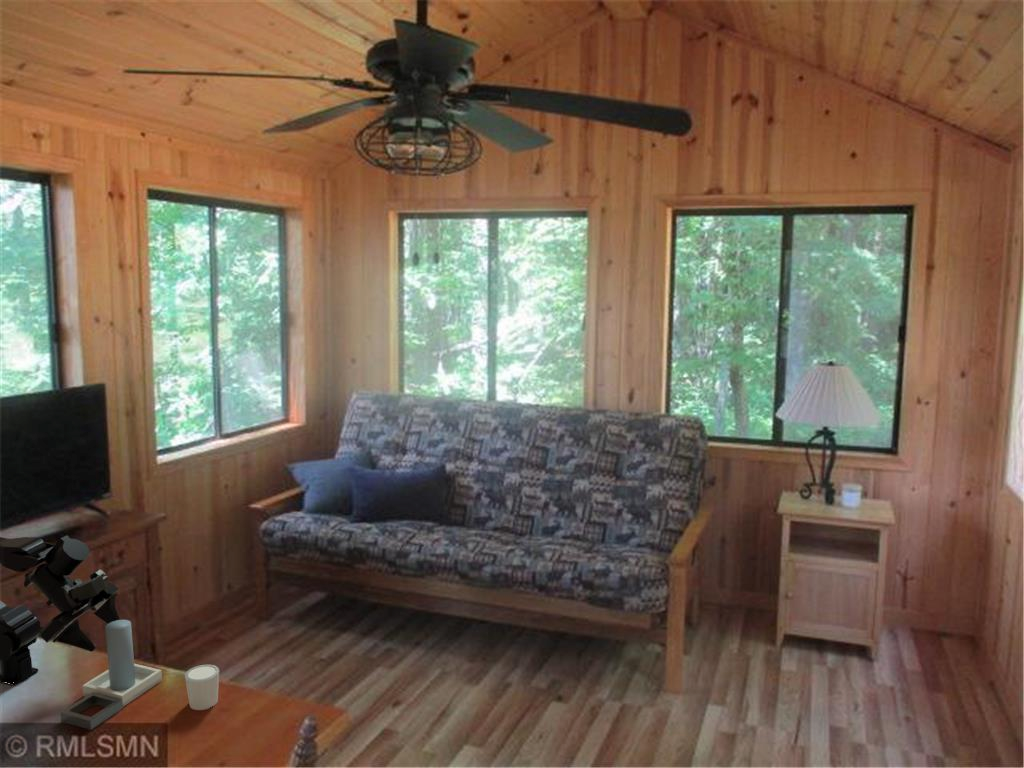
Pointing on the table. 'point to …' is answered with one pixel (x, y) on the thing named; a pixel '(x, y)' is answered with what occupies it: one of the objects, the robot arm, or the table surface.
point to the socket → (90, 723)
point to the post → (120, 655)
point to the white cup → (202, 686)
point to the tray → (143, 682)
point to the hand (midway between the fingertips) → (107, 639)
